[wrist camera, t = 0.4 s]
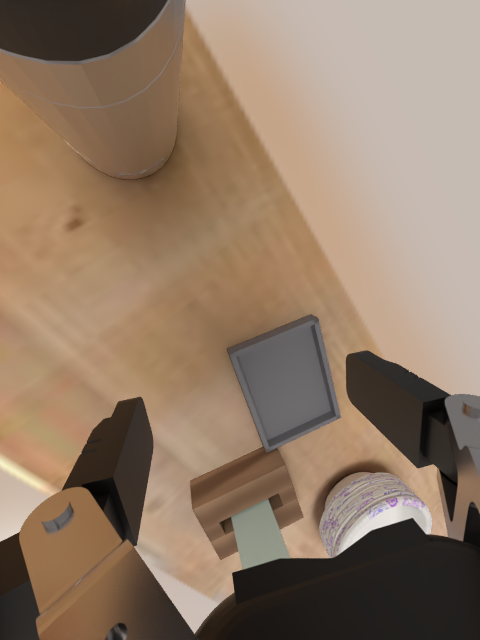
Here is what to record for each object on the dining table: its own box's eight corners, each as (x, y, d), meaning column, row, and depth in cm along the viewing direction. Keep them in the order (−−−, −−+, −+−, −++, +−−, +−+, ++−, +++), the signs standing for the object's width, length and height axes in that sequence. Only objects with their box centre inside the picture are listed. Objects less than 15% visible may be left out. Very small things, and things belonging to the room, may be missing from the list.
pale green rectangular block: (226, 495, 36) (248, 596, 26) (260, 479, 37) (294, 570, 27) (230, 504, 37) (253, 606, 27) (263, 487, 38) (299, 580, 27)
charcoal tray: (226, 348, 31) (229, 354, 30) (311, 314, 33) (317, 317, 31) (262, 444, 36) (266, 452, 35) (334, 410, 38) (341, 417, 36)
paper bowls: (386, 440, 42) (432, 483, 35) (395, 505, 47) (437, 554, 40) (298, 483, 40) (327, 538, 33) (318, 545, 45) (347, 605, 38)
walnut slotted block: (190, 481, 35) (192, 509, 31) (273, 442, 37) (285, 464, 33) (215, 529, 39) (220, 560, 35) (291, 491, 40) (303, 517, 36)
